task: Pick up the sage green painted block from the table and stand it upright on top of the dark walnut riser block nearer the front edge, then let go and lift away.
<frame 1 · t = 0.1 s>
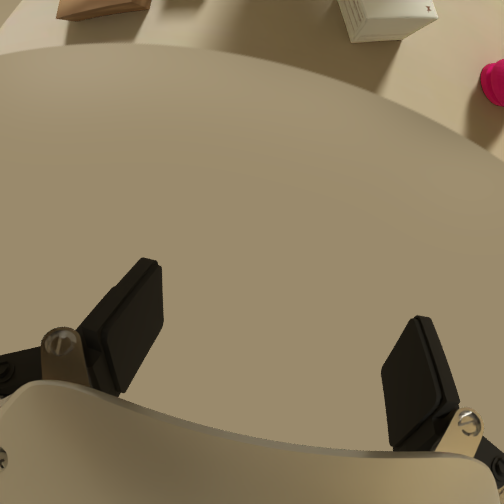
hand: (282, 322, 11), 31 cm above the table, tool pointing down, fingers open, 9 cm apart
supplement box: (368, 16, 27), on the table
pepper mill: (495, 84, 27), on the table
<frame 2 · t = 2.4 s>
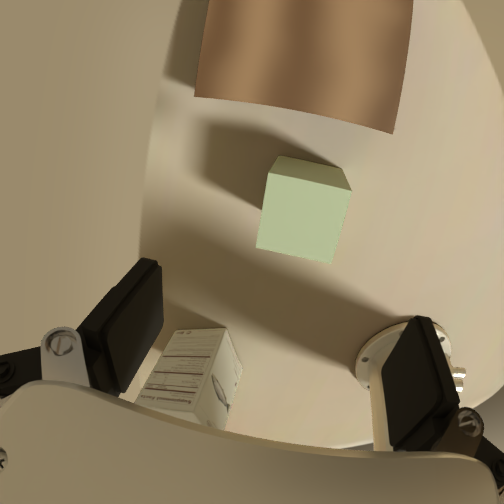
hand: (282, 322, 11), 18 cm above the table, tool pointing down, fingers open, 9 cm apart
supplement box: (209, 347, 38), on the table
sage block: (304, 191, 26), on the table
walnut riser block: (309, 32, 20), on the table
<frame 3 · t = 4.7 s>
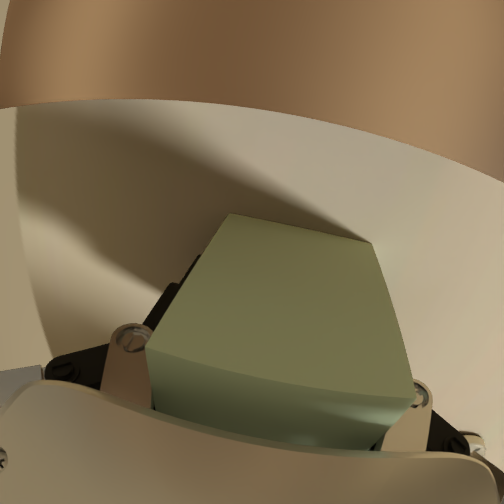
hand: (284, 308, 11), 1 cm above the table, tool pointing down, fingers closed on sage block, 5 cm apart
sage block: (287, 287, 13), on the table, touching gripper
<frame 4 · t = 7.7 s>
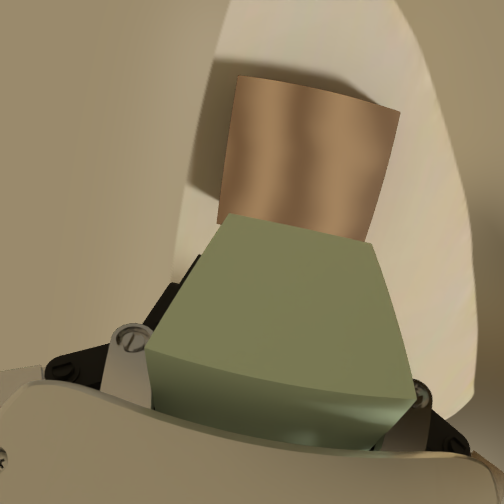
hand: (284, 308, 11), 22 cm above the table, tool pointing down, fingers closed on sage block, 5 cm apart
sage block: (287, 288, 13), point 21 cm above the table, touching gripper
walnut riser block: (305, 158, 30), on the table
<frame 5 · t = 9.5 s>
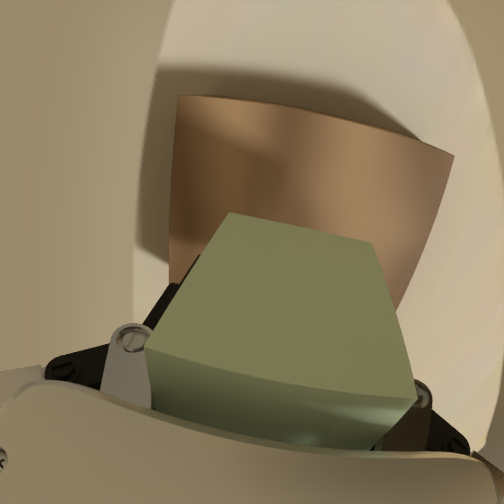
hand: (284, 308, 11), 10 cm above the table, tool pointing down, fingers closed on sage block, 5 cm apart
sage block: (287, 287, 13), point 9 cm above the table, touching gripper
walnut riser block: (298, 214, 21), on the table
when the fingers open (7 cm above the table, at t = 10.9 s): sage block drops 1 cm, resting on walnut riser block.
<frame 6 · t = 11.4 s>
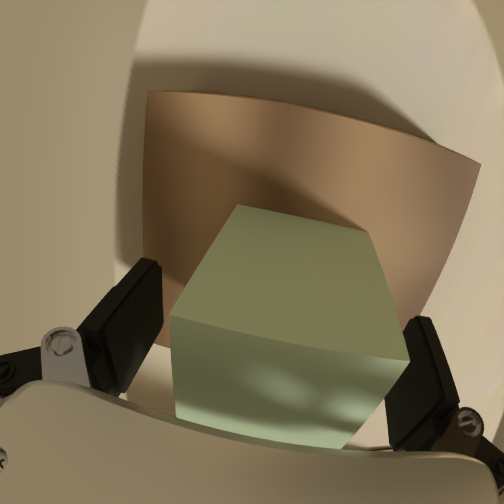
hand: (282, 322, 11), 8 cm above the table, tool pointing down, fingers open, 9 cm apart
sage block: (290, 274, 14), point 5 cm above the table, touching walnut riser block
walnut riser block: (294, 228, 18), on the table
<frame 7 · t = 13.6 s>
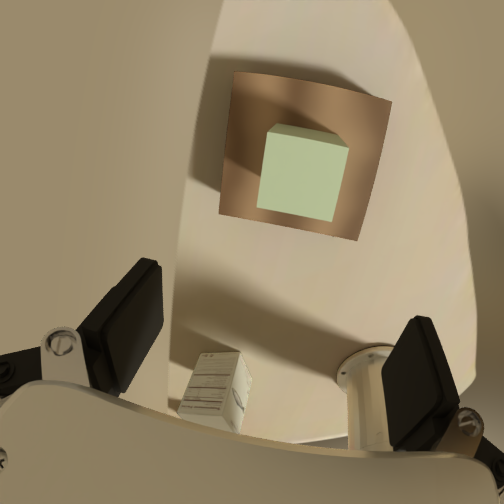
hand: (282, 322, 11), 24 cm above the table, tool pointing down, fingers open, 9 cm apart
supplement box: (227, 365, 49), on the table
sage block: (302, 158, 26), point 5 cm above the table, touching walnut riser block
walnut riser block: (302, 148, 31), on the table
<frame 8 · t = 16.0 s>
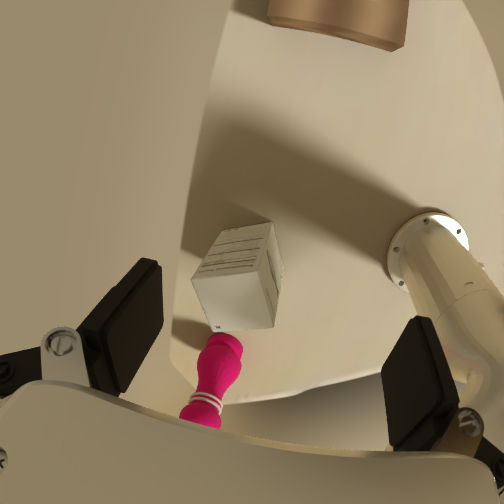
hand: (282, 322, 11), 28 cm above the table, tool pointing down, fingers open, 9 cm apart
supplement box: (253, 248, 42), on the table
pepper mill: (225, 345, 52), on the table
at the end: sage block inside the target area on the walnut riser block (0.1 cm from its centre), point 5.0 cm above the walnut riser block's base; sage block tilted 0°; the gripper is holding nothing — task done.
